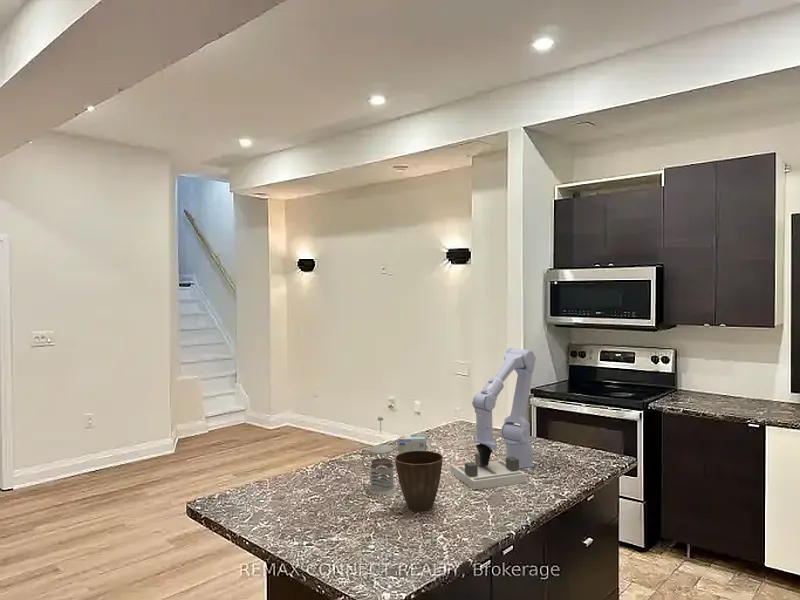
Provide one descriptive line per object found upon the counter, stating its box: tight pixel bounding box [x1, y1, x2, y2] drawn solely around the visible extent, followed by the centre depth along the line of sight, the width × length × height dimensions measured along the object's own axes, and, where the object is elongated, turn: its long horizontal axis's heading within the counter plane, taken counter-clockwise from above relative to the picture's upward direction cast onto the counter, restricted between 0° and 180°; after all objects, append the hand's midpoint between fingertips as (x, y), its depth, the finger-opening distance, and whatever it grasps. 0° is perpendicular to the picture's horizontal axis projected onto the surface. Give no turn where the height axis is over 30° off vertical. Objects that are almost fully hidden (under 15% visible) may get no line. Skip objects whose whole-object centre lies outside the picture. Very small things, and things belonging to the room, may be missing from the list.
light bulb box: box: [397, 434, 428, 454], centre depth 231 cm, size 11×7×11 cm, turn 84°
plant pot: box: [394, 450, 444, 513], centre depth 185 cm, size 15×15×16 cm
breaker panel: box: [449, 457, 527, 491], centre depth 212 cm, size 20×20×7 cm
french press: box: [361, 416, 397, 495], centre depth 202 cm, size 10×12×25 cm
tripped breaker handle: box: [474, 453, 488, 467], centre depth 216 cm, size 3×4×4 cm
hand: (485, 464), depth 213 cm, fingers closed
